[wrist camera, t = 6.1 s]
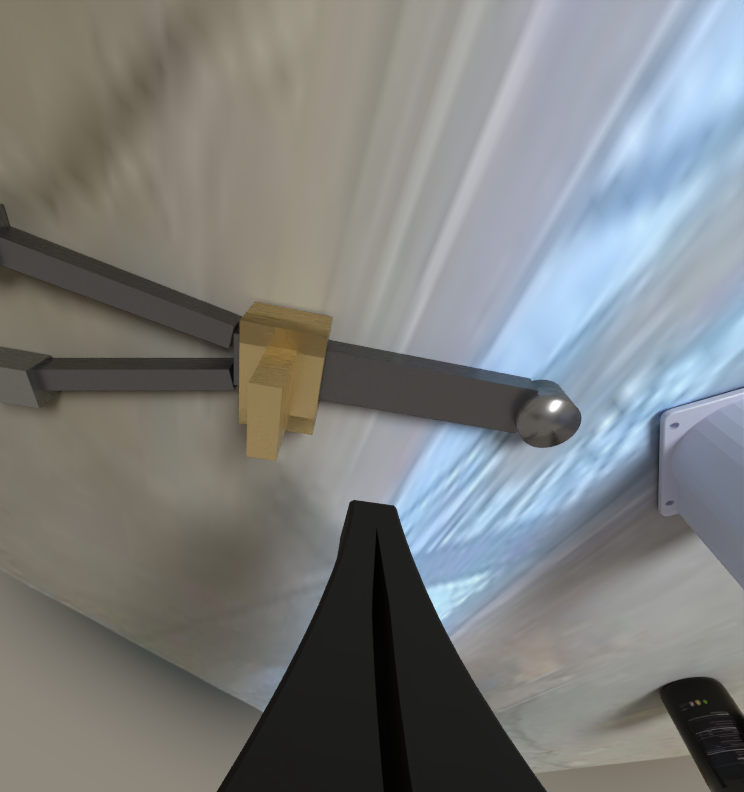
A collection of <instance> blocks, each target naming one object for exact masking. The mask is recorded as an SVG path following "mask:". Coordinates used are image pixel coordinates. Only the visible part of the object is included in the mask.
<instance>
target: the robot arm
mask: <svg viewBox="0 0 744 792" xmlns="http://www.w3.org/2000/svg"><path fill="white" fill-rule="evenodd" d="M658 511H659V512H660V514H661V515H662V516H666V517H667V516H672V515H677V514H679V515H680V516H681V517H682V518H683V519H684V520H685V522H686V523H687V524H688V525H689V526H690V527H691V529H692V530H693V531H694V532H695V533H696V534H697V536H698V537H699V538H700V539H701V540H702V541H703V543H704V544H705V545H706V546H707V547H708V548H709V550H710V551H711V552H712V553H713V554H714V555H715V557H716V558H717V559H718V560H719V561H720V562H721V564H722V565H723V566H724V567H725V568H726V569H727V571H728V572H729V573H730V574H731V575H732V576H733V578H734V579H735V580H736V581H737V582H738V583H739V585H740V586H741V587H742V588H743V589H744V388H742V389H738V390H735V391H731V392H728V393H724V394H721V395H717V396H714V397H711V398H707V399H704V400H700V401H697V402H693V403H690V404H686V405H683V406H679V407H676V408H672V409H669V410H667V411H665V412H664V413H663V414H662V415H661V418H660V451H659V493H658ZM217 792H547V791H546V790H545V788H544V787H543V786H542V784H541V783H540V781H539V780H538V779H537V777H536V776H535V774H534V773H533V772H532V770H531V769H530V767H529V766H528V765H527V763H526V762H525V760H524V759H523V757H522V756H521V754H520V753H519V751H518V750H517V748H516V747H515V745H514V744H513V742H512V741H511V740H510V738H509V737H508V735H507V734H506V732H505V731H504V729H503V728H502V726H501V724H500V723H499V721H498V720H497V718H496V716H495V715H494V713H493V712H492V710H491V709H490V707H489V705H488V704H487V702H486V701H485V699H484V697H483V696H482V694H481V693H480V691H479V689H478V688H477V686H476V685H475V683H474V681H473V680H472V678H471V676H470V674H469V673H468V671H467V669H466V667H465V666H464V664H463V662H462V660H461V659H460V657H459V655H458V653H457V651H456V650H455V648H454V646H453V644H452V642H451V640H450V638H449V637H448V635H447V633H446V631H445V629H444V627H443V625H442V623H441V621H440V619H439V617H438V615H437V613H436V610H435V608H434V606H433V604H432V602H431V600H430V598H429V595H428V593H427V591H426V589H425V586H424V584H423V582H422V579H421V577H420V574H419V572H418V569H417V567H416V565H415V562H414V560H413V557H412V554H411V552H410V549H409V546H408V543H407V541H406V538H405V535H404V532H403V529H402V526H401V523H400V519H399V516H398V512H397V509H396V508H395V506H393V505H386V504H379V503H372V502H365V501H358V500H353V501H351V502H350V503H349V507H348V511H347V515H346V518H345V522H344V526H343V530H342V534H341V537H340V544H339V550H338V556H337V560H336V563H335V566H334V568H333V571H332V574H331V576H330V578H329V581H328V583H327V586H326V588H325V591H324V593H323V595H322V598H321V600H320V603H319V605H318V607H317V609H316V612H315V614H314V616H313V618H312V620H311V622H310V624H309V627H308V629H307V631H306V633H305V635H304V637H303V639H302V641H301V643H300V645H299V647H298V649H297V651H296V653H295V655H294V657H293V659H292V661H291V663H290V665H289V667H288V669H287V671H286V672H285V674H284V676H283V678H282V680H281V682H280V684H279V686H278V687H277V689H276V691H275V693H274V695H273V696H272V698H271V700H270V702H269V704H268V705H267V707H266V709H265V711H264V712H263V714H262V716H261V718H260V720H259V721H258V723H257V725H256V727H255V728H254V730H253V732H252V734H251V736H250V737H249V739H248V741H247V743H246V744H245V746H244V748H243V749H242V751H241V752H240V754H239V756H238V757H237V759H236V761H235V762H234V764H233V766H232V767H231V769H230V771H229V772H228V774H227V776H226V777H225V779H224V781H223V782H222V784H221V786H220V787H219V789H218V791H217Z"/></svg>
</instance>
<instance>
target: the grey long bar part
mask: <svg viewBox="0 0 744 792" xmlns="http://www.w3.org/2000/svg"><path fill="white" fill-rule="evenodd" d="M0 265H2V266H5V267H7V268H10V269H13V270H15V271H18V272H21V273H24V274H26V275H29V276H32V277H35V278H37V279H40V280H43V281H46V282H48V283H51V284H54V285H56V286H59V287H62V288H65V289H67V290H70V291H73V292H76V293H78V294H81V295H84V296H86V297H89V298H92V299H95V300H97V301H100V302H103V303H106V304H108V305H111V306H114V307H116V308H119V309H122V310H125V311H127V312H130V313H133V314H136V315H138V316H141V317H144V318H147V319H149V320H152V321H155V322H157V323H160V324H163V325H166V326H168V327H171V328H174V329H177V330H179V331H182V332H185V333H187V334H190V335H193V336H196V337H198V338H201V339H204V340H207V341H209V342H212V343H215V344H217V345H220V346H223V347H226V348H228V349H229V347H230V346H231V345H232V343H233V342H234V358H51V356H50V355H44V354H38V353H32V352H26V351H21V350H15V349H9V348H3V347H0V402H2V403H8V404H15V405H21V406H28V407H34V408H40V407H42V406H43V405H44V404H46V403H47V402H48V401H50V400H51V399H52V398H54V397H55V396H56V395H57V394H59V393H60V392H61V391H100V390H235V388H236V386H237V385H239V348H240V320H241V318H242V316H239V315H237V314H234V313H232V312H229V311H226V310H224V309H221V308H219V307H216V306H214V305H211V304H208V303H206V302H203V301H201V300H198V299H196V298H193V297H190V296H188V295H185V294H183V293H180V292H178V291H175V290H172V289H170V288H167V287H165V286H162V285H160V284H157V283H155V282H152V281H149V280H147V279H144V278H142V277H139V276H137V275H134V274H131V273H129V272H126V271H124V270H121V269H119V268H116V267H113V266H111V265H108V264H106V263H103V262H101V261H98V260H95V259H93V258H90V257H88V256H85V255H83V254H80V253H78V252H75V251H72V250H70V249H67V248H65V247H62V246H60V245H57V244H54V243H52V242H49V241H47V240H44V239H42V238H39V237H36V236H34V235H31V234H29V233H26V232H24V231H21V230H18V229H16V228H13V227H11V226H10V225H9V222H8V219H7V216H6V213H5V210H4V207H3V204H0ZM319 399H320V400H326V401H332V402H338V403H343V404H349V405H355V406H361V407H367V408H372V409H378V410H384V411H390V412H396V413H401V414H407V415H413V416H419V417H425V418H430V419H436V420H442V421H448V422H454V423H459V424H465V425H471V426H477V427H483V428H488V429H494V430H500V431H506V432H512V433H515V432H516V431H517V430H518V431H519V433H520V435H521V437H522V439H523V440H524V441H525V442H526V443H527V444H529V445H531V446H534V447H540V448H546V447H552V446H556V445H558V444H561V443H563V442H565V441H566V440H568V439H569V438H570V437H572V436H573V435H574V434H575V433H576V431H577V430H578V428H579V426H580V423H581V413H580V411H579V409H578V408H577V407H576V406H575V405H574V403H573V402H572V401H571V400H570V398H569V397H568V396H567V395H566V394H565V392H564V391H563V390H562V389H561V387H560V386H559V385H558V384H556V383H555V382H552V381H549V380H536V381H531V379H529V378H524V377H519V376H514V375H509V374H503V373H498V372H493V371H488V370H482V369H477V368H472V367H467V366H462V365H456V364H451V363H446V362H441V361H436V360H430V359H425V358H420V357H415V356H410V355H404V354H399V353H394V352H389V351H383V350H378V349H373V348H368V347H363V346H357V345H352V344H347V343H342V342H337V341H331V340H328V344H327V349H326V355H325V362H324V368H323V375H322V381H321V387H320V394H319Z"/></svg>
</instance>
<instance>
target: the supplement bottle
mask: <svg viewBox="0 0 744 792" xmlns="http://www.w3.org/2000/svg"><path fill="white" fill-rule="evenodd" d="M660 697H661V700H662V702H663V704H664V705H665V707H666V709H667V711H668V713H669V715H670V717H671V719H672V721H673V722H674V724H675V726H676V728H677V730H678V732H679V733H680V735H681V737H682V739H683V741H684V743H685V745H686V746H687V748H688V750H689V752H690V754H691V756H692V757H693V759H694V761H695V763H696V765H697V767H698V769H699V771H700V772H701V774H702V776H703V778H704V780H705V782H706V783H707V785H708V787H709V789H710V790H711V792H744V715H743V713H742V712H741V710H740V709H739V707H738V706H737V704H736V703H735V702H734V700H733V699H732V697H731V696H730V694H729V693H728V691H727V690H726V688H725V687H724V686H723V685H722V684H721V683H720V682H719V681H717V680H715V679H712V678H707V677H695V678H687V679H682V680H679V681H675V682H673V683H670V684H668V685H667V686H665V687H664V688H663V689H662V690H661V692H660Z"/></svg>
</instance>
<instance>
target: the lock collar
mask: <svg viewBox="0 0 744 792" xmlns="http://www.w3.org/2000/svg"><path fill="white" fill-rule="evenodd" d="M331 323H332V317H330V316H325V315H320V314H314V313H309V312H304V311H299V310H294V309H289V308H284V307H279V306H274V305H269V304H264V303H259V302H254V304H253V305H252V306H251V307H250V308H249V310H248V311H247V312H246V313H245V315H244V316H243V317H242V318H241V320H240V348H239V423H241V424H247V450H246V456H249V457H255V458H262V459H269V460H275V461H276V459H277V456H278V452H279V449H280V446H281V443H282V440H283V437H284V433H285V431H291V432H297V433H303V434H310V435H312V434H313V429H314V425H315V420H316V415H317V411H318V405H319V394H320V387H321V381H322V375H323V368H324V362H325V355H326V349H327V344H328V340H329V336H330V330H331Z"/></svg>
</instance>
